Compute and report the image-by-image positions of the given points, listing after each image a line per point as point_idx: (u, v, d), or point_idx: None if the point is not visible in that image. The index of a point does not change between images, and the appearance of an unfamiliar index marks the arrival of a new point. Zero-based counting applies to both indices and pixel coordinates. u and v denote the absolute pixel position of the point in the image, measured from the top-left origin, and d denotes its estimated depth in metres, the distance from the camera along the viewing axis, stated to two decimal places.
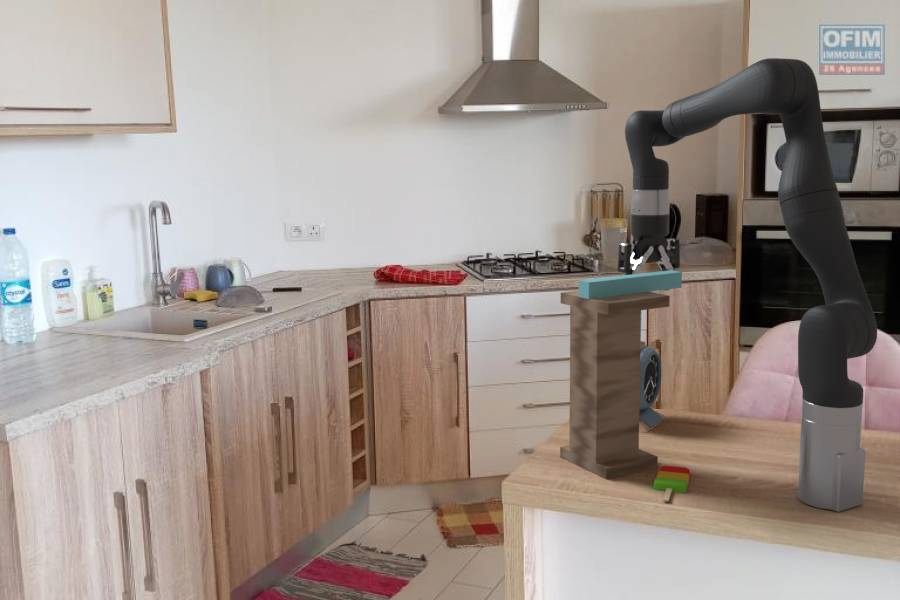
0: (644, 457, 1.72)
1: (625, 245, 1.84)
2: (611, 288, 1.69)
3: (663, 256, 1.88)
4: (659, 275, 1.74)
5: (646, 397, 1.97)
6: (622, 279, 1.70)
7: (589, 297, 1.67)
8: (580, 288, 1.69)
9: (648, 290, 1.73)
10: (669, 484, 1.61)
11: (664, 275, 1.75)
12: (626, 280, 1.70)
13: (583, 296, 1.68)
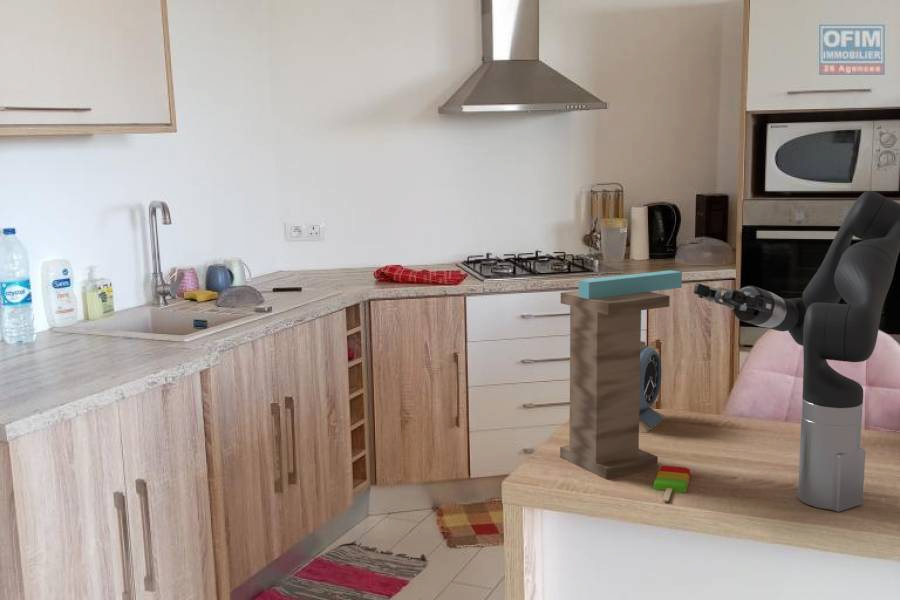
0: (644, 457, 1.72)
1: None
2: (611, 288, 1.69)
3: None
4: (659, 275, 1.74)
5: (646, 397, 1.97)
6: (622, 279, 1.70)
7: (589, 297, 1.67)
8: (580, 288, 1.69)
9: (648, 290, 1.73)
10: (669, 484, 1.61)
11: (664, 275, 1.75)
12: (626, 280, 1.70)
13: (583, 296, 1.68)
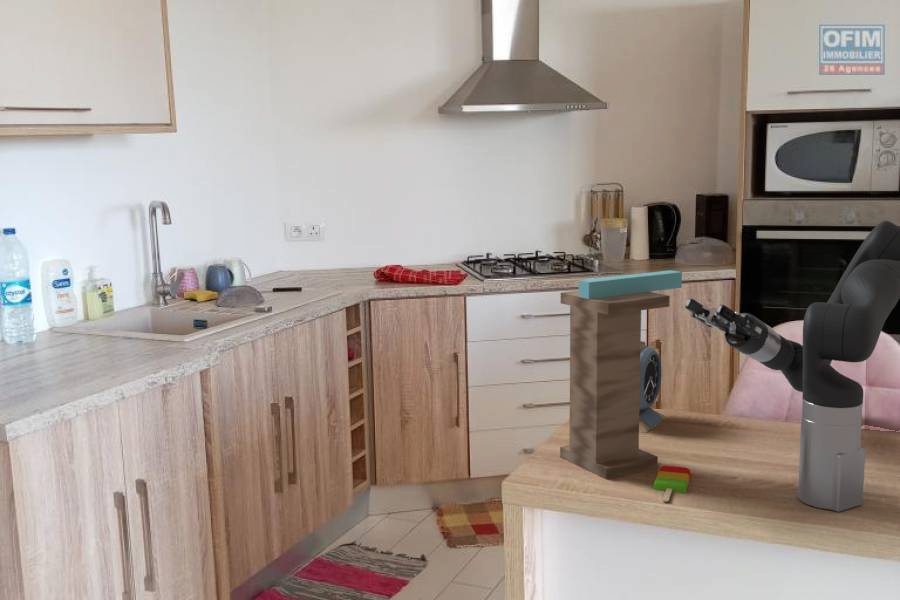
0: (644, 457, 1.72)
1: None
2: (611, 288, 1.69)
3: None
4: (659, 275, 1.74)
5: (646, 397, 1.97)
6: (622, 279, 1.70)
7: (589, 297, 1.67)
8: (580, 288, 1.69)
9: (648, 290, 1.73)
10: (669, 484, 1.61)
11: (664, 275, 1.75)
12: (626, 280, 1.70)
13: (583, 296, 1.68)
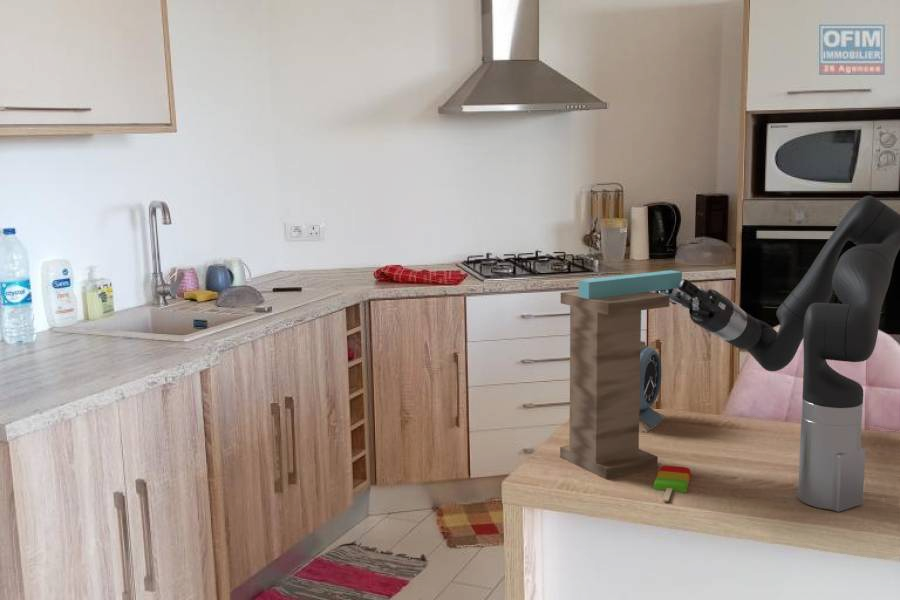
0: (644, 457, 1.72)
1: None
2: (611, 288, 1.69)
3: None
4: (659, 275, 1.74)
5: (646, 397, 1.97)
6: (622, 279, 1.70)
7: (589, 297, 1.67)
8: (580, 288, 1.69)
9: (648, 290, 1.73)
10: (669, 484, 1.61)
11: (664, 275, 1.75)
12: (626, 280, 1.70)
13: (583, 296, 1.68)
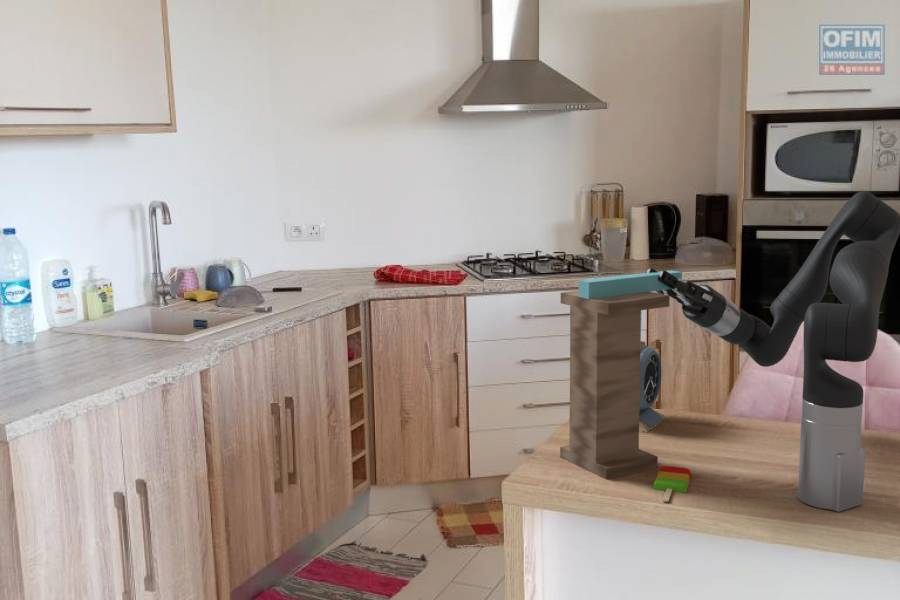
0: (644, 457, 1.72)
1: None
2: (611, 288, 1.69)
3: None
4: None
5: (646, 397, 1.97)
6: (622, 279, 1.70)
7: (589, 297, 1.67)
8: (579, 288, 1.69)
9: (648, 290, 1.73)
10: (669, 484, 1.61)
11: None
12: (626, 280, 1.70)
13: (583, 296, 1.68)
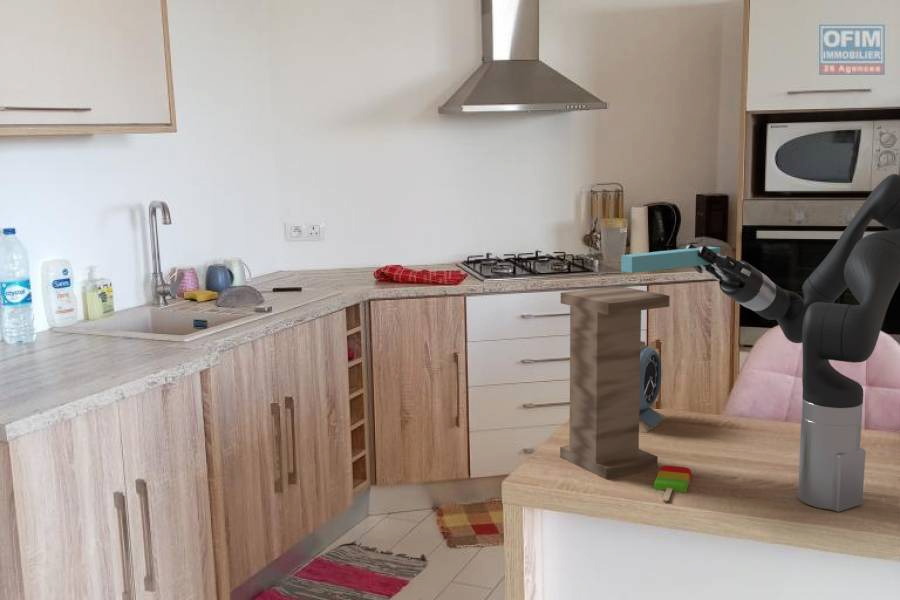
0: (644, 457, 1.72)
1: None
2: (653, 262, 1.73)
3: None
4: None
5: (646, 397, 1.97)
6: (663, 254, 1.74)
7: (632, 272, 1.71)
8: (622, 263, 1.73)
9: (688, 265, 1.77)
10: (669, 484, 1.61)
11: None
12: (667, 255, 1.74)
13: (626, 270, 1.72)
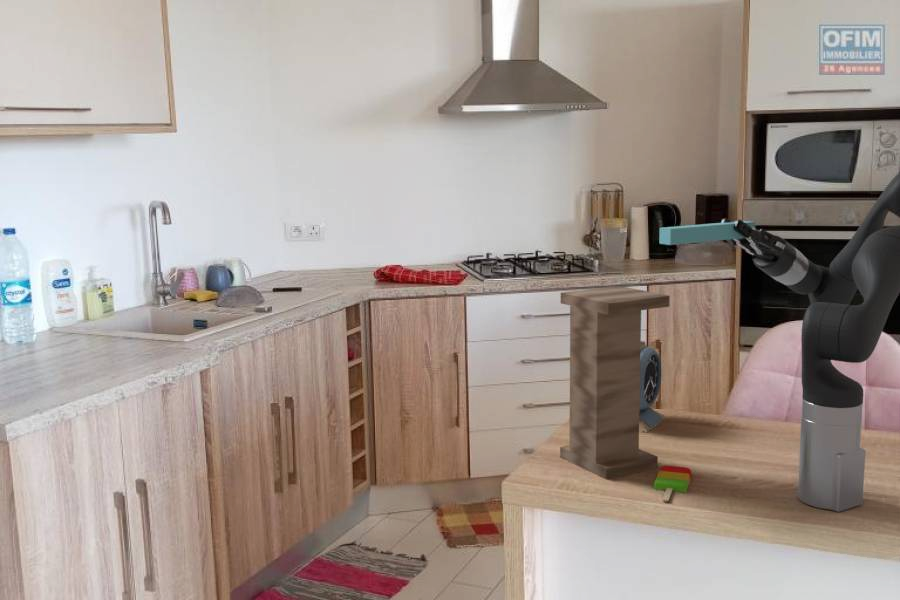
0: (644, 457, 1.72)
1: None
2: (690, 235, 1.76)
3: None
4: None
5: (646, 397, 1.97)
6: (701, 227, 1.78)
7: (670, 244, 1.74)
8: (661, 235, 1.76)
9: (724, 238, 1.81)
10: (669, 484, 1.61)
11: None
12: (704, 228, 1.78)
13: (664, 242, 1.76)
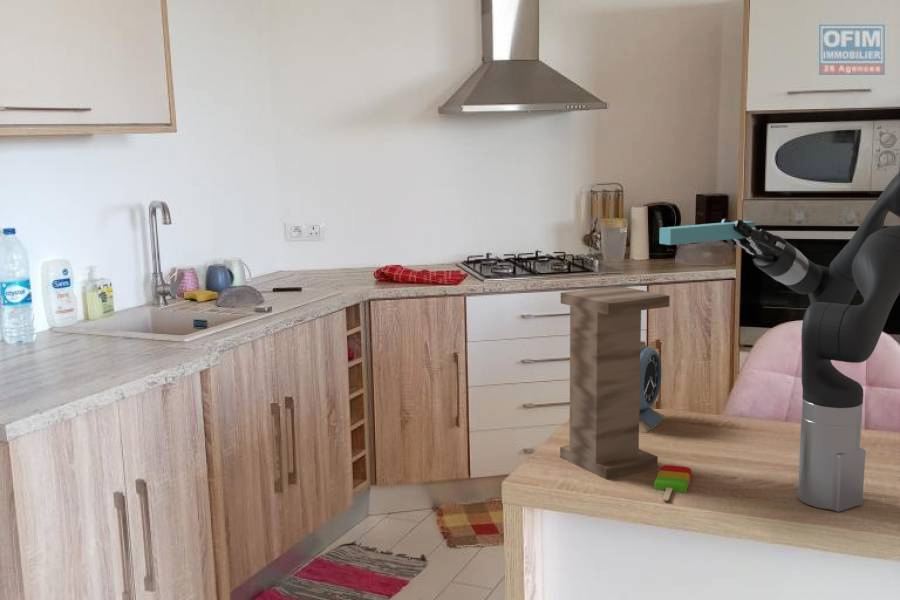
0: (644, 457, 1.72)
1: None
2: (690, 235, 1.76)
3: None
4: None
5: (646, 397, 1.97)
6: (701, 227, 1.78)
7: (670, 244, 1.74)
8: (661, 235, 1.76)
9: (724, 238, 1.81)
10: (669, 483, 1.61)
11: None
12: (704, 228, 1.78)
13: (664, 242, 1.76)
